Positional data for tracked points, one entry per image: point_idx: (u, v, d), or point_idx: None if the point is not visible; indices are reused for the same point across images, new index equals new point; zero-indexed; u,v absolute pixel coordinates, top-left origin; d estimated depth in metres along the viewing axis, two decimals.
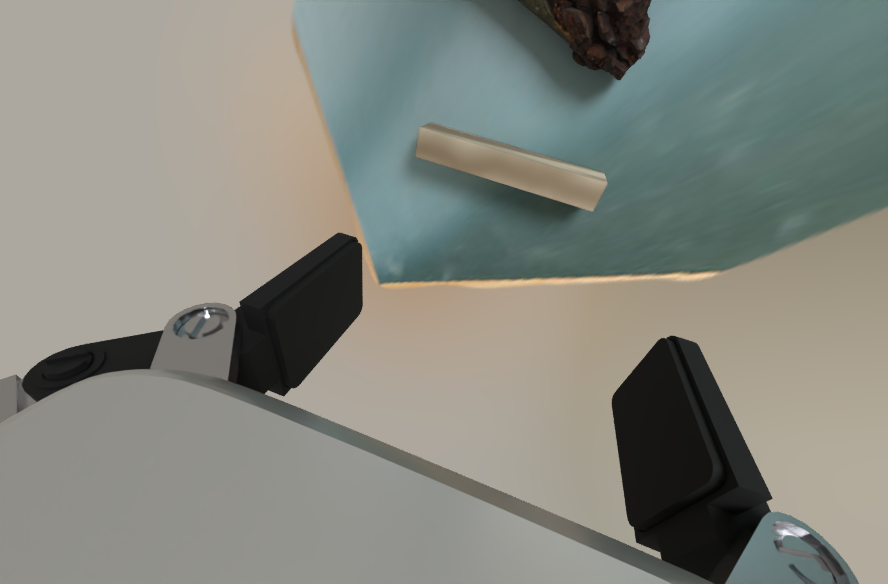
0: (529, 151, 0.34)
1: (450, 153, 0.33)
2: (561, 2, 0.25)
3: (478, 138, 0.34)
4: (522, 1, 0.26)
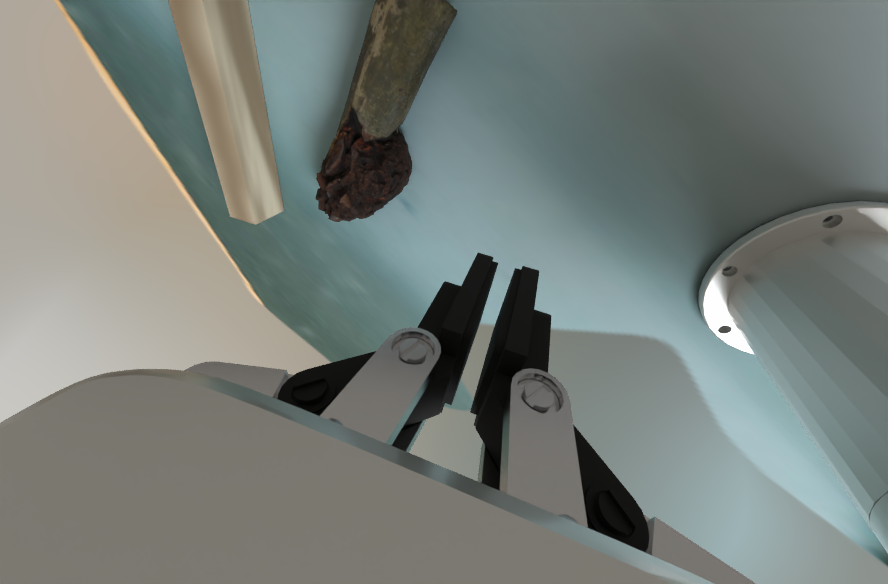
0: (268, 127, 0.29)
1: (184, 5, 0.21)
2: (349, 135, 0.23)
3: (244, 49, 0.25)
4: (352, 83, 0.22)
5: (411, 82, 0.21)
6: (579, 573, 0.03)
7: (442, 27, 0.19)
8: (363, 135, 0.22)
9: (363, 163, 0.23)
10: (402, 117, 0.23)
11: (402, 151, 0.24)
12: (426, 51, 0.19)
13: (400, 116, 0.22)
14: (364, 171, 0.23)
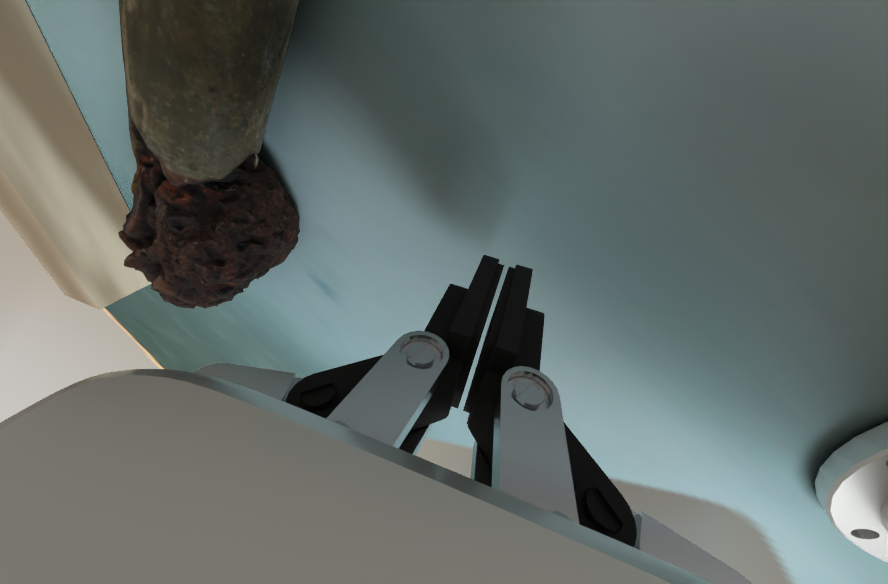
0: (103, 163, 0.18)
1: None
2: (151, 173, 0.12)
3: (9, 35, 0.14)
4: None
5: (236, 75, 0.10)
6: (579, 573, 0.03)
7: None
8: (167, 175, 0.11)
9: (179, 226, 0.12)
10: (246, 143, 0.11)
11: (265, 201, 0.13)
12: (249, 3, 0.08)
13: (239, 141, 0.11)
14: (180, 243, 0.12)
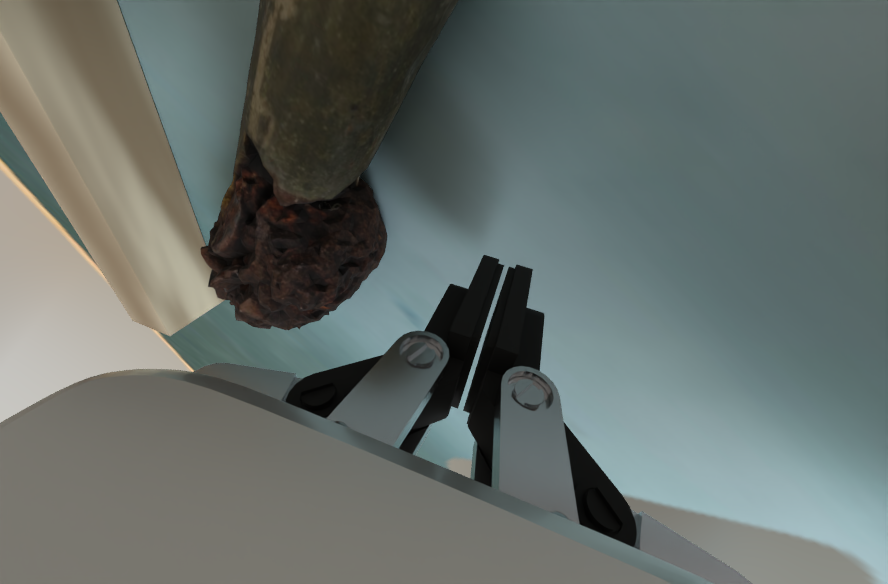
0: (182, 187, 0.17)
1: None
2: (253, 190, 0.11)
3: (108, 59, 0.13)
4: None
5: (382, 92, 0.09)
6: (579, 573, 0.03)
7: None
8: (277, 195, 0.10)
9: (281, 247, 0.11)
10: (364, 161, 0.11)
11: (366, 221, 0.12)
12: (420, 15, 0.07)
13: (359, 160, 0.10)
14: (282, 266, 0.11)
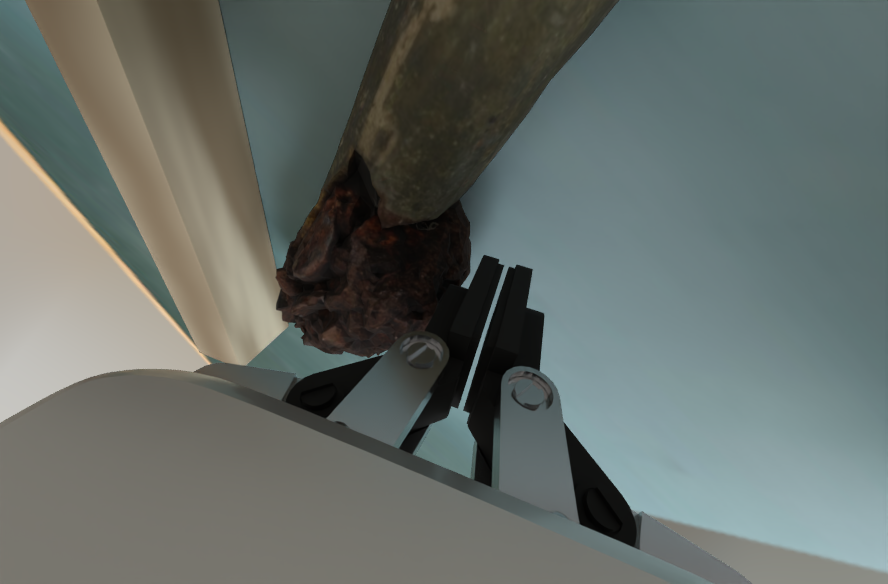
0: (262, 214, 0.16)
1: None
2: (348, 210, 0.10)
3: (211, 85, 0.12)
4: None
5: (524, 101, 0.08)
6: (579, 573, 0.03)
7: None
8: (381, 216, 0.09)
9: (377, 272, 0.10)
10: (476, 177, 0.10)
11: (462, 241, 0.11)
12: (593, 14, 0.06)
13: (473, 176, 0.09)
14: (380, 293, 0.10)
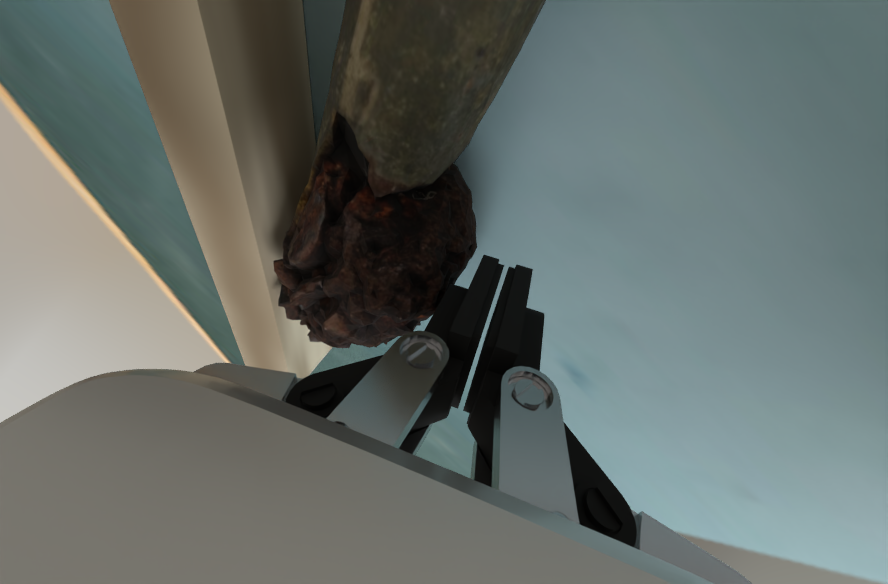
0: None
1: (151, 12, 0.08)
2: (338, 183, 0.09)
3: (291, 105, 0.11)
4: None
5: (514, 28, 0.07)
6: (579, 573, 0.03)
7: None
8: (372, 184, 0.09)
9: (374, 248, 0.10)
10: (471, 132, 0.09)
11: (464, 210, 0.10)
12: None
13: (467, 130, 0.08)
14: (379, 270, 0.09)
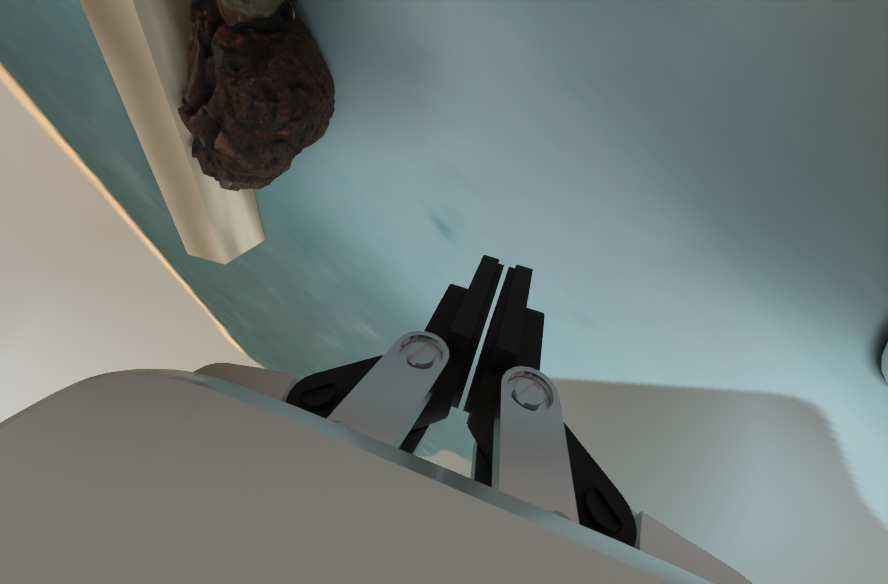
0: None
1: None
2: (205, 24, 0.13)
3: None
4: None
5: None
6: (579, 573, 0.03)
7: None
8: (223, 13, 0.13)
9: (236, 69, 0.14)
10: None
11: (306, 48, 0.14)
12: None
13: None
14: (239, 82, 0.13)
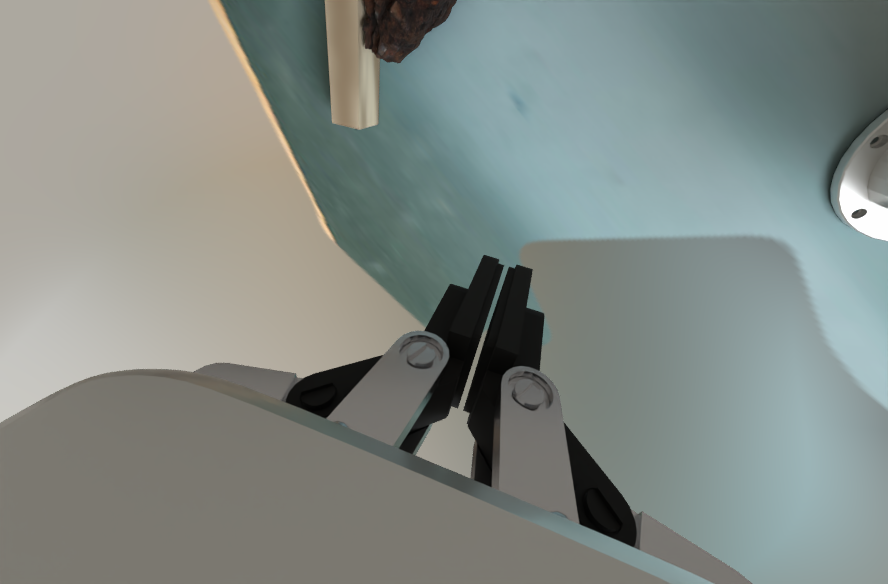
0: None
1: None
2: None
3: None
4: None
5: None
6: (579, 573, 0.03)
7: None
8: None
9: None
10: None
11: None
12: None
13: None
14: None
